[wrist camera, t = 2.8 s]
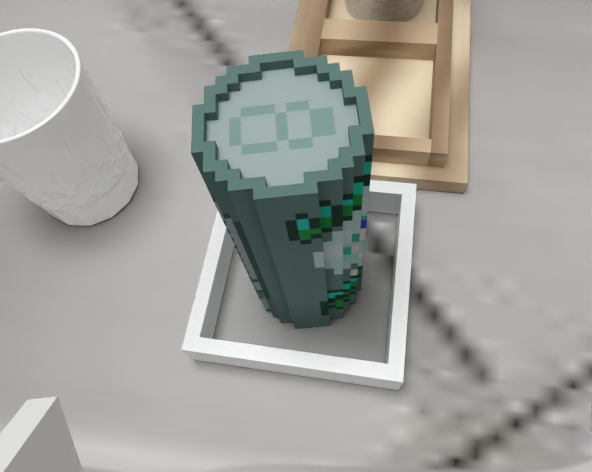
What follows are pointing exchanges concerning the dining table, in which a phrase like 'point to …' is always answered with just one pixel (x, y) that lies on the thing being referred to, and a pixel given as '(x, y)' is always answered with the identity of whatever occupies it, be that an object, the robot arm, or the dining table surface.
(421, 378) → the dining table surface
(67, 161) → the white cup
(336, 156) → the can
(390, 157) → the wooden tray
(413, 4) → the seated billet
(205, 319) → the frame
